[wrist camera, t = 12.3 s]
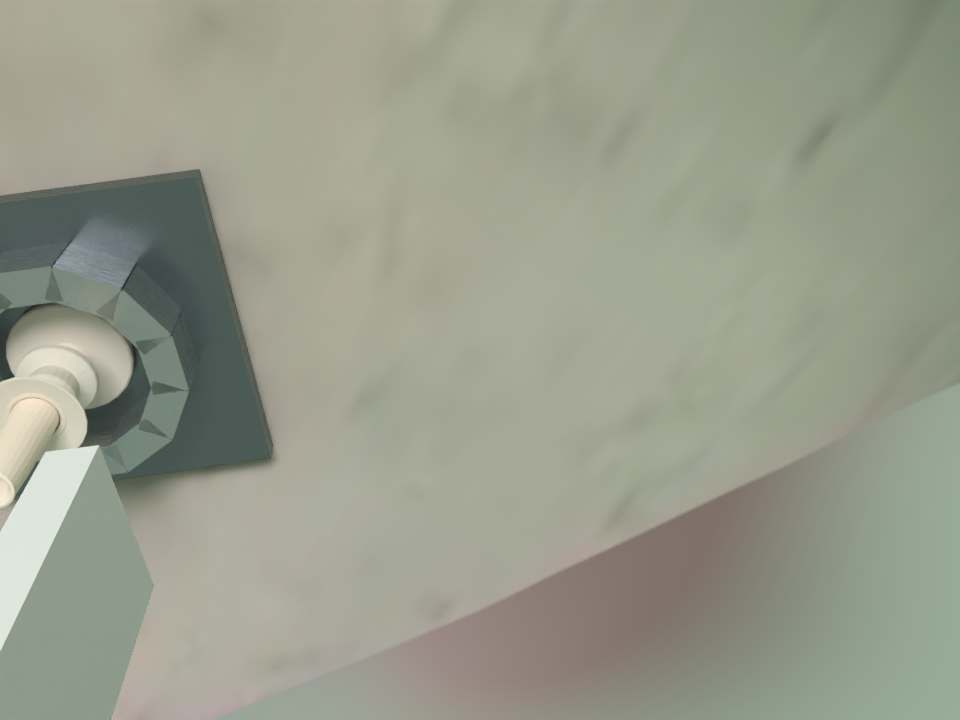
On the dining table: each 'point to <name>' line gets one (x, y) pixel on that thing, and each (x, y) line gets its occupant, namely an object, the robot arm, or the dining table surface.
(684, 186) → the dining table surface
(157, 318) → the ring stand
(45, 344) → the candle
